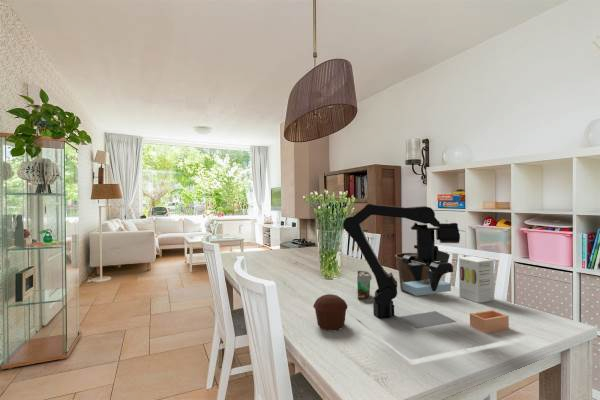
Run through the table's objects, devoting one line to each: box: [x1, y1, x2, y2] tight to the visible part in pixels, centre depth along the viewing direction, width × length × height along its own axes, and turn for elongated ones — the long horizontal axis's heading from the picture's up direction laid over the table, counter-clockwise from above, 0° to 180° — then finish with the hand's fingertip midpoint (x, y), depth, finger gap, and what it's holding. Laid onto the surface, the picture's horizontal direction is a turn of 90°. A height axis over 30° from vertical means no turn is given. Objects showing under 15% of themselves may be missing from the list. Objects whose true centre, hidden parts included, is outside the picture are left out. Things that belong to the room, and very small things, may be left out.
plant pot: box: [394, 252, 431, 295], centre depth 139 cm, size 16×16×16 cm
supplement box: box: [458, 255, 495, 304], centre depth 127 cm, size 10×9×17 cm
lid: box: [403, 279, 452, 297], centre depth 104 cm, size 14×7×4 cm, turn 107°
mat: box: [398, 310, 457, 329], centre depth 104 cm, size 16×10×1 cm, turn 107°
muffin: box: [313, 293, 348, 331], centre depth 103 cm, size 12×11×10 cm
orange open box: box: [469, 309, 510, 334], centre depth 97 cm, size 10×6×5 cm, turn 107°
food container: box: [356, 270, 373, 300], centre depth 133 cm, size 12×6×10 cm, turn 168°
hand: (426, 287), depth 104 cm, fingers closed on lid, 7 cm apart
